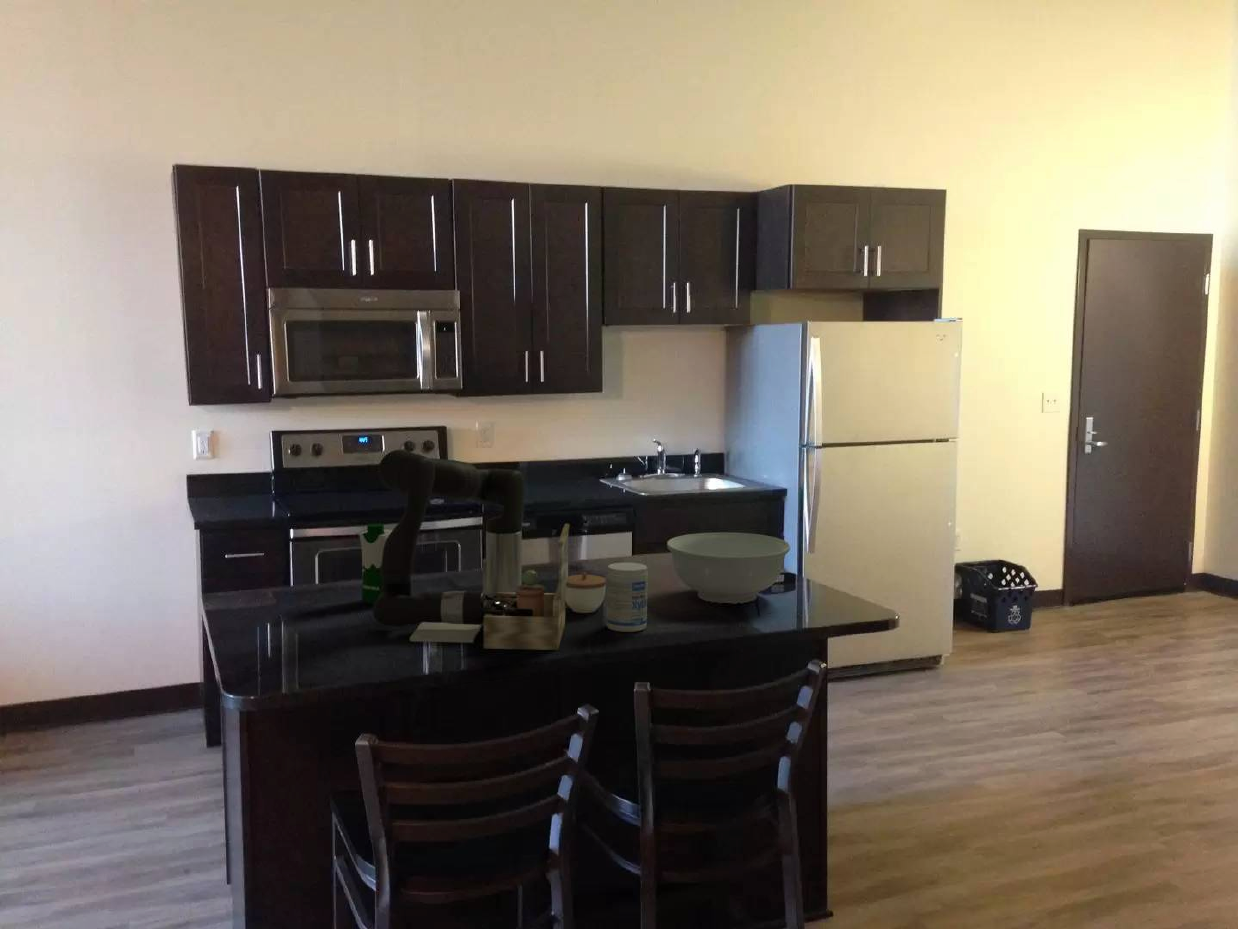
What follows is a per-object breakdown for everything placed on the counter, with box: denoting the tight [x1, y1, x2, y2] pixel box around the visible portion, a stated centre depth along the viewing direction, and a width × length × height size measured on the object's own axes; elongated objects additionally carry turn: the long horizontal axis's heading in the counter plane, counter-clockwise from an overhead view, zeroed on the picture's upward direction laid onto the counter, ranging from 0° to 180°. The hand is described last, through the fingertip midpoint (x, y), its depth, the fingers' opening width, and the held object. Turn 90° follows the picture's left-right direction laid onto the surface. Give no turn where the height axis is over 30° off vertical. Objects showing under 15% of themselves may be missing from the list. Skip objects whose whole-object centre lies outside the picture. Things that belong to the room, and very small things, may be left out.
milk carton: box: [358, 523, 393, 605], centre depth 268 cm, size 9×9×20 cm
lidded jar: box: [565, 572, 607, 614], centre depth 263 cm, size 11×11×9 cm
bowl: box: [666, 532, 791, 605], centre depth 278 cm, size 32×32×15 cm
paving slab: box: [409, 622, 483, 643], centre depth 241 cm, size 14×14×1 cm
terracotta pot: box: [516, 569, 546, 617], centre depth 240 cm, size 7×7×15 cm
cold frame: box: [483, 523, 570, 651], centre depth 240 cm, size 17×22×24 cm
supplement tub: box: [605, 562, 649, 633], centre depth 248 cm, size 10×10×15 cm
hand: (534, 609), depth 240 cm, fingers open, 8 cm apart
